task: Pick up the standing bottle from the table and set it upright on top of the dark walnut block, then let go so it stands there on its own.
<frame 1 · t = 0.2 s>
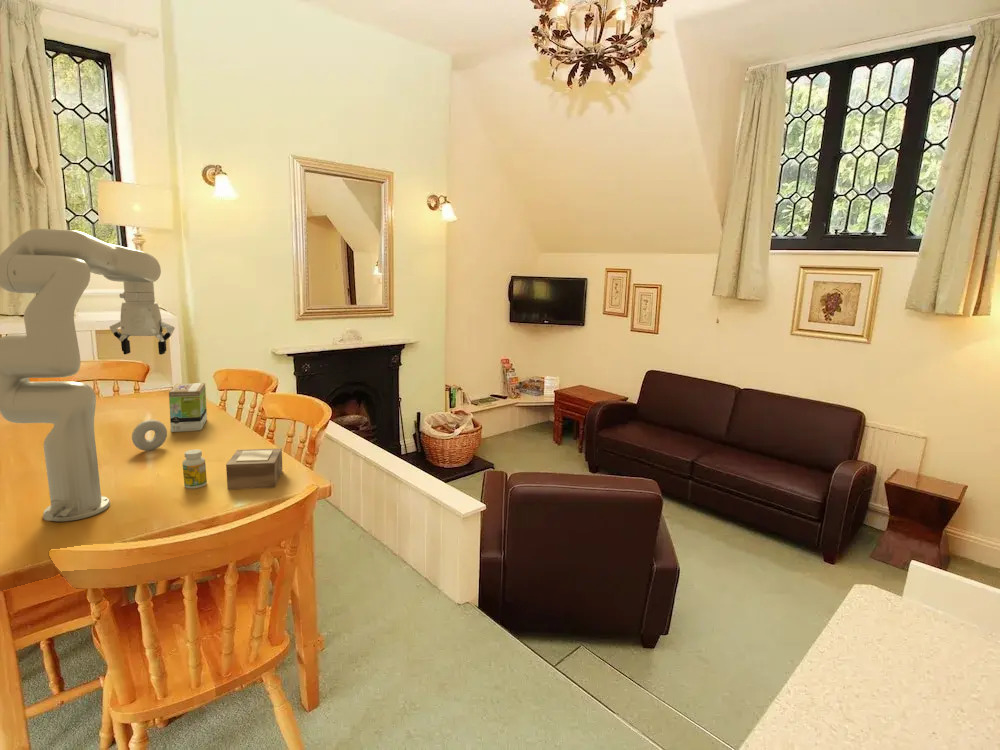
hand: (144, 353, 167), 31 cm above the table, tool pointing down, fingers open, 9 cm apart
tea box: (189, 426, 199), on the table
supplement bottle: (195, 485, 148), on the table
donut: (151, 450, 173), on the table
walnut block: (256, 479, 153), on the table
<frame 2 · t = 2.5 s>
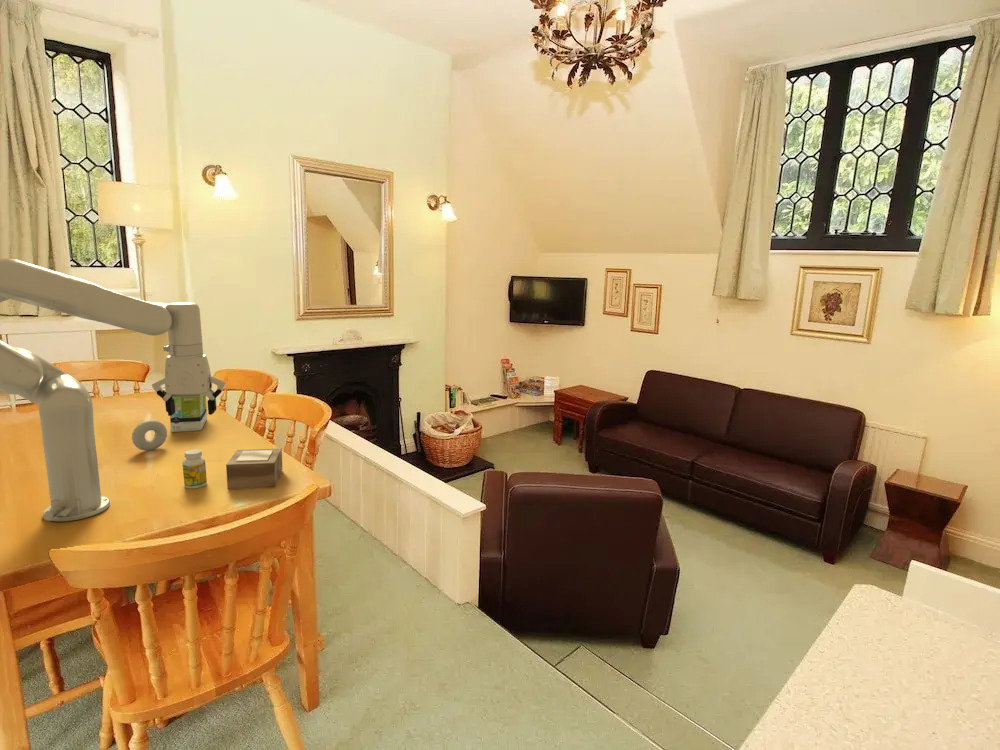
hand: (191, 413, 144), 20 cm above the table, tool pointing down, fingers open, 9 cm apart
nothing on the table moved.
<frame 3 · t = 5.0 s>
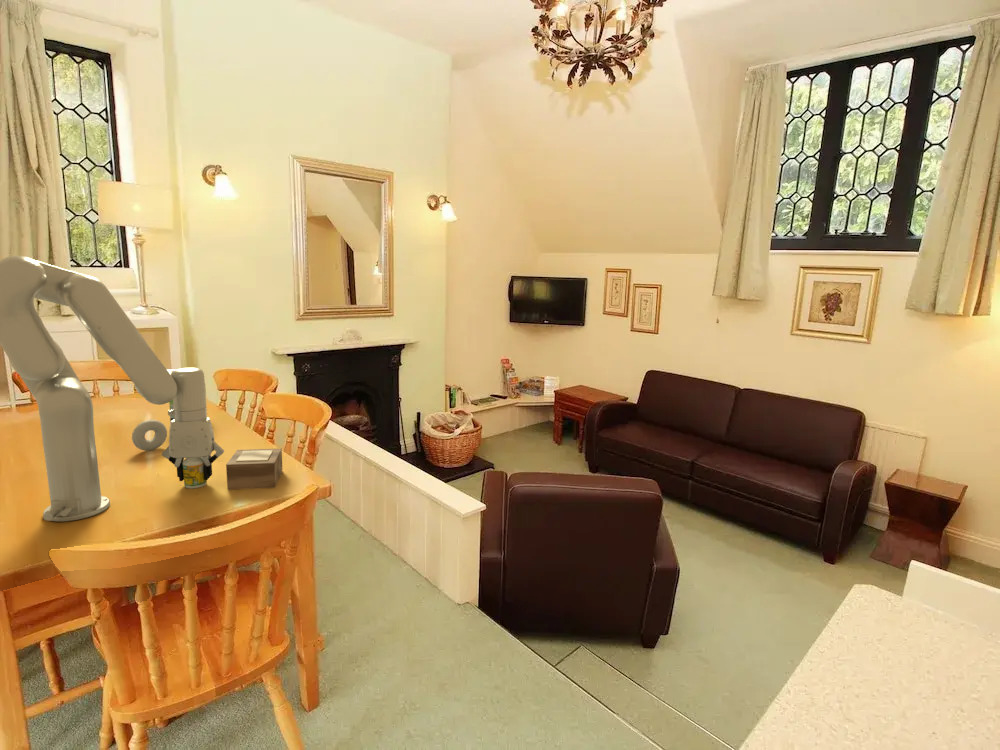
hand: (195, 478, 147), 2 cm above the table, tool pointing down, fingers closed on supplement bottle, 5 cm apart
supplement bottle: (195, 485, 148), on the table, touching gripper
everything else where it was.
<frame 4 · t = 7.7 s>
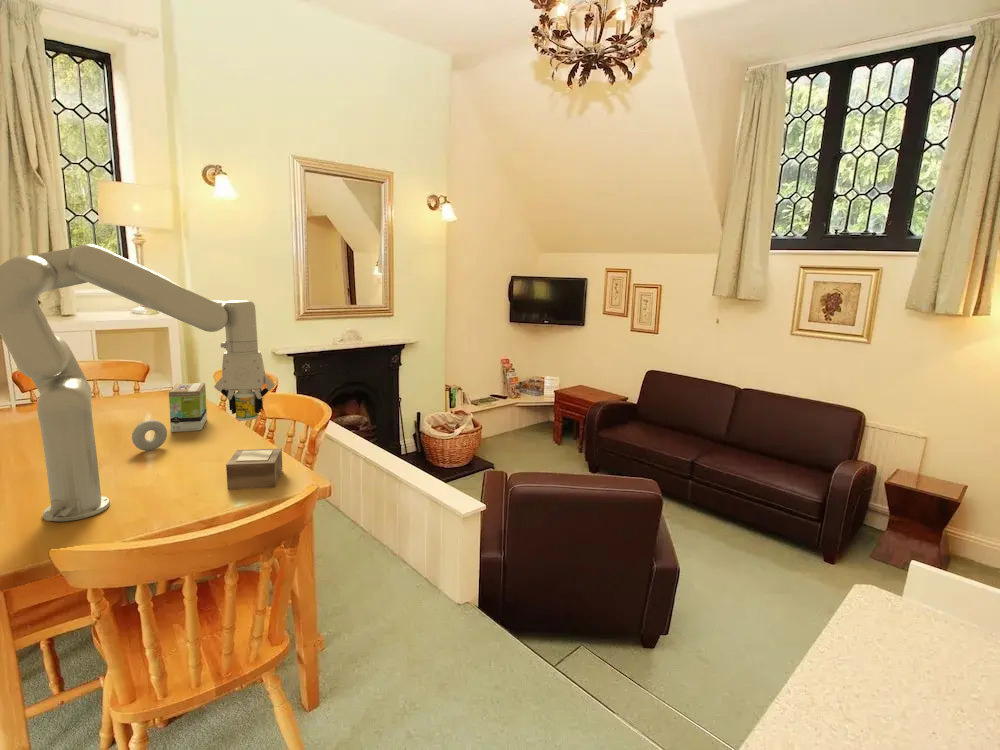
hand: (246, 411, 149), 20 cm above the table, tool pointing down, fingers closed on supplement bottle, 5 cm apart
supplement bottle: (247, 419, 149), point 18 cm above the table, touching gripper
everything else where it was.
when the fingers open (11 cm above the table, at t = 10.3 s): supplement bottle drops 1 cm, resting on walnut block.
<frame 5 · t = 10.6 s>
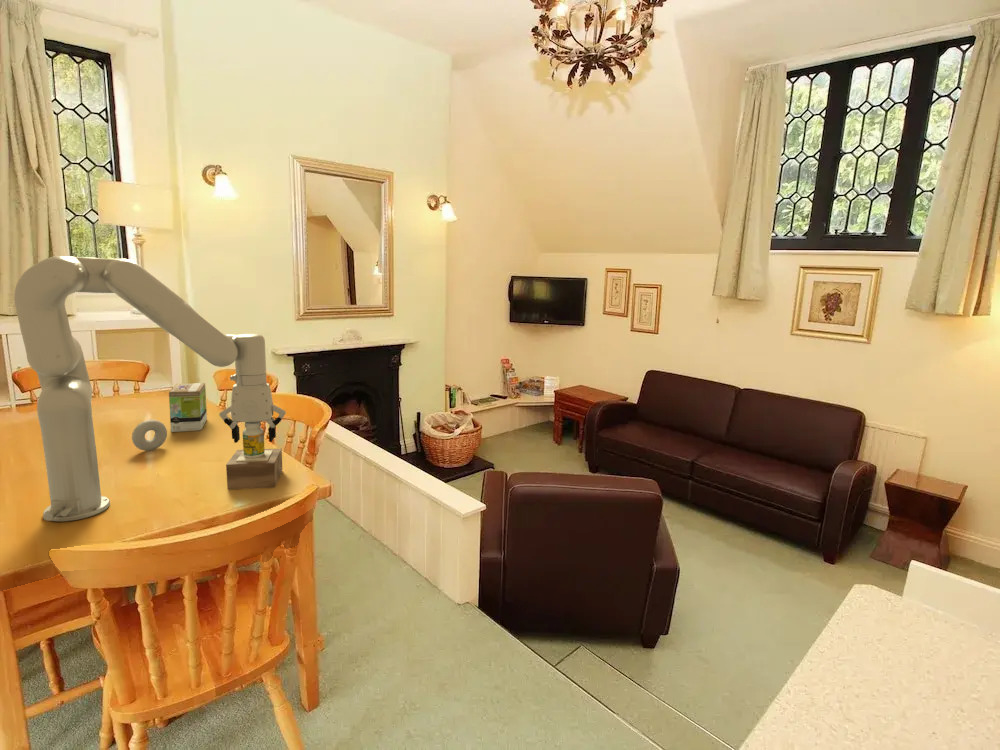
hand: (254, 440, 151), 12 cm above the table, tool pointing down, fingers open, 8 cm apart
supplement bottle: (254, 455, 151), point 7 cm above the table, touching walnut block
everything else where it was.
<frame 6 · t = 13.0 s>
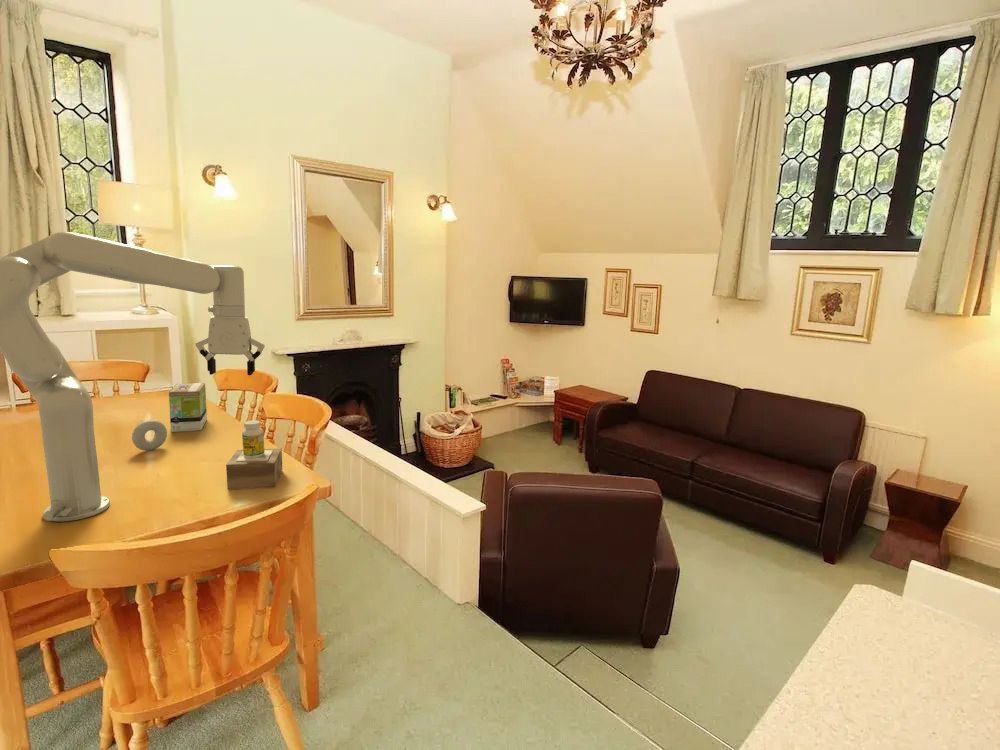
hand: (231, 374, 149), 30 cm above the table, tool pointing down, fingers open, 9 cm apart
nothing on the table moved.
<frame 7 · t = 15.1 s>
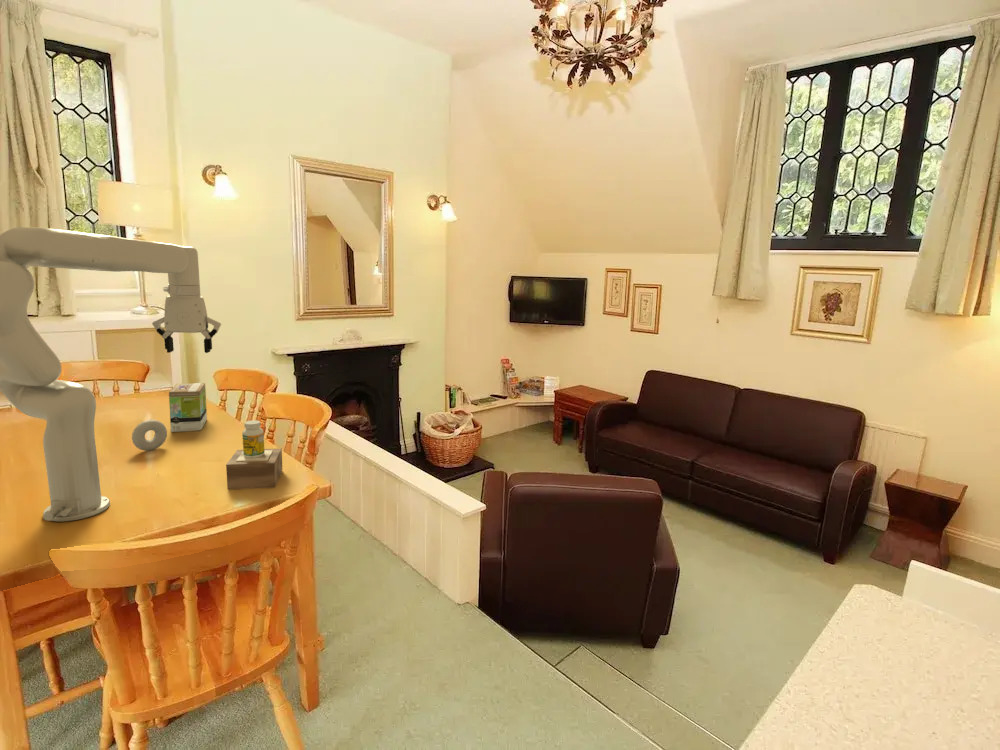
hand: (189, 352, 154), 34 cm above the table, tool pointing down, fingers open, 9 cm apart
nothing on the table moved.
at the end: supplement bottle inside the target area on the walnut block (0.3 cm from its centre), point 7.1 cm above the walnut block's base; supplement bottle tilted 0°; the gripper is holding nothing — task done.
